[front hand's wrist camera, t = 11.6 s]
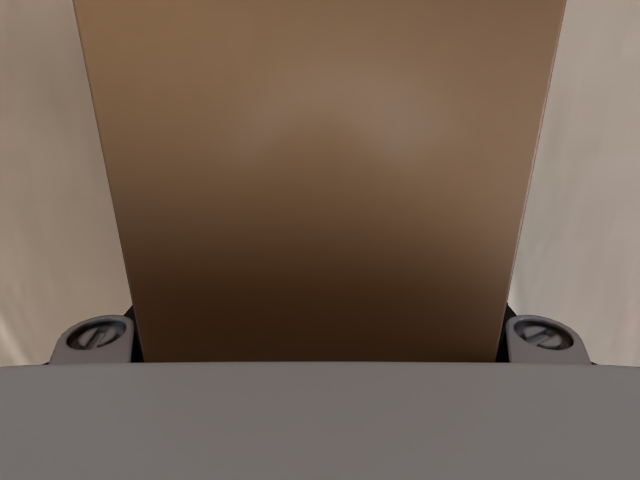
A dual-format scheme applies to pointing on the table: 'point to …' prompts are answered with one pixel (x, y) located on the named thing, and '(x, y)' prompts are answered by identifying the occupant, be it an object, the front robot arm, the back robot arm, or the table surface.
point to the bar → (319, 170)
